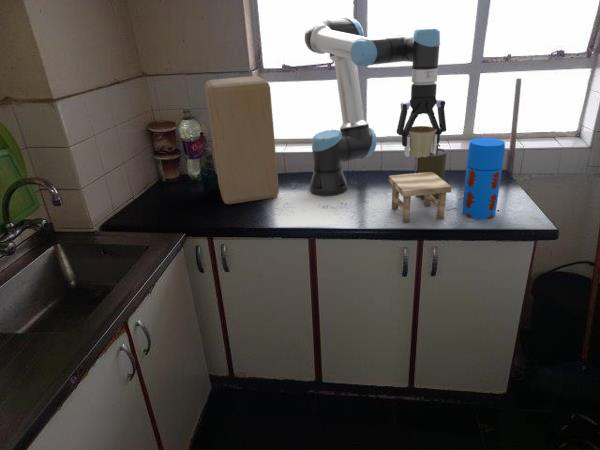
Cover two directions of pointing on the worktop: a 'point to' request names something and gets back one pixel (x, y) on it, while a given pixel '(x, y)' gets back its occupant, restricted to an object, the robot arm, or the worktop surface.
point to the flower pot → (421, 140)
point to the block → (243, 138)
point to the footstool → (418, 192)
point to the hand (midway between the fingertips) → (419, 154)
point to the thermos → (483, 177)
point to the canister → (432, 165)
